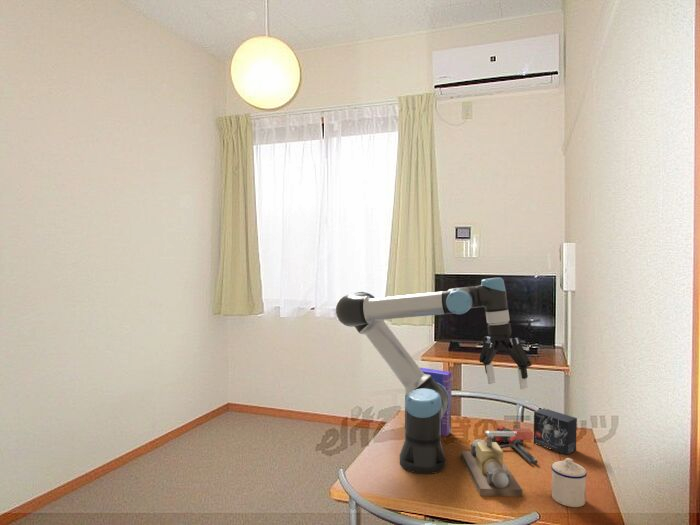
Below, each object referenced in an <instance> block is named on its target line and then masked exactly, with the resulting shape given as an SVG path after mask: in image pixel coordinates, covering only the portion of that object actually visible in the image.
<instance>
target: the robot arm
mask: <svg viewBox="0 0 700 525" xmlns="http://www.w3.org/2000/svg"><path fill="white" fill-rule="evenodd" d="M480 282H481V283H480V284H479V285H474V286H473V285H471V286H465V287H454V288H449V289H448V290H442V291H434V292H424V293H413V294H404V295H394V296H386V297H385V296H384V297H375V296H374V295H373V294H371V293H369V292H365V291H359V292H354V293H351V294H346V295H344V296H342V297H341V298H340V299H339V301H337V303H336V306H335V315H336V317H337V319H338V321H339V322H340V323H341V324H343V325H344V326H345V327H350V328H353V327H354V328H355V329H356V331H357V333H358V334H360V335H364V336H366V337H367V339H368V340H369V341H370V342H371V344H372V345H373V347H374V348H375V349H376V351H377V352H378V353H379V355H381V358H382V359H383V360H384V362H385V363H386V364H387V365H388V367H389V368H390V369H391V371H392V372H393V374H394V375H395V376H396V378H397V379H398V380H399V381H400V383H401V384H402V386H403V387H404V389H405V391H404V396H405V395H406V401H405V400H404V430H405V431H404V441H403V444H402V447H401V450H400V453H399V465H400V466H401V467H402V468H403V469H404V470H407V471H409V472H412V473H417V474H423V475H428V474H429V475H430V474H435V473H440V472H442V471H444V469H445V468H446V467H447V466H446V464H447V462H446V461H447V459H446V455H445V452H444V449H443V445H442V443H441V437H442V436H441V419H442V417H443V415H444V413H445V412H446V411H447V408H448V404H449V396H448V393H447V391H446V389H445V388H444V387H443V386H442V385H441V384H439V383H437V382H435V381H434V379H433V378H432V377H431V375H428V374H424V373H423V372H422V370H421V369H420V368H421V367H420V366H419V365H418V364H417V362H416V361H415V360H414V359H413V357H412V356H411V354H410V353H409V352H408V351H407V349H406V348H405V346H403V344H402V343H401V341H400V340H399V339H398V338H397V336H396V335H395V334H394V332H393V331H392V330H391V329H390V327H389V326H388V324H387V323H386V322H385V320H394V319H404V318H415V317H427V316H428V317H429V316H438V315H439V316H440V315H451V314H452V315H453V314H455V315H464V314H466V313H468V311H469V310H470V309H477V308H484V310H485V318H486V324H487V333H488V335H487V336H484V337H483V338H482V340H483V341H482V342H483V343H482V347H481V350H480V351H481V352H480V355H479V360H478V361H479V363H480V364H481V363H482V364H483V365H484V369H485V371H484V372H485V374H486V376H487V384H488V385H491V384H494V383H496V378H495V372H494V371H495V370H494V364H493V362H492V361H493V359H494V358H495V356H496V354H497V352H498V351H501V352H505V353H507V354H508V355H509V356H510V358H511V359H512V361H514V363H515V364H516V365H517V367H518V368H517V375H518V381H519V382H518V383H519V389H520V390H524V389H527V388H529V387H528V380H527V379H528V376H529V375H528V370H527V368H529V367H532V362H531V360H530V358H529V356H528V355H527V353H526V350H525V349H524V348H523V346H522V344H521V339H520V337H514V338H512V335H511V334H512V327H511V326H512V325H511V322H510V313H509V305H508V298H507V290H506V285H505V280H504V279H503V277H500V276H499V277H490V278H485V279H484V278H483V279H481V281H480Z"/></svg>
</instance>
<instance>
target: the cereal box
mask: <svg viewBox="0 0 700 525" xmlns="http://www.w3.org/2000/svg"><path fill="white" fill-rule="evenodd" d="M419 368H420V369H421V370H422V372H423V373H424V374H428V375H431V377H432V378H433V379H434V381H435V382H437V383H439V384H441V385H442V386H443V387H444V388H445V389H446V391H447V393H448V396H449V404H448V408H447V411H446V412H445V413H444V415H443V417H442V419H441V437H446V438H447V437H448V436H449V435H450V434H452V387H453V386H452V385H453V384H452V382H453V381H452V378H453V376H452V375H453V372H452V371H446V370H440V369H432V368H425V367H424V368H423V367H419ZM404 396H405V398H404V402H405V401H406V395H405V394H404Z"/></svg>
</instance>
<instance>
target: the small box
mask: <svg viewBox="0 0 700 525" xmlns="http://www.w3.org/2000/svg"><path fill="white" fill-rule="evenodd" d="M533 415H534V416H533V444H535V443H537V444H536V445H538V444H540V445H539V446H541V445H542V446H541V447H543V446H546V447H548V448H547V449H549V448H551V449H553V450H552V451H554V450H555V451H554V452H557V451H558V452H557V453H559V452H560V454H562V455H565V456H568V455H570V454H572V453H574V452H576V451H577V430H578V429H577V426H578V425H577V422H578V418H577V417H575V416H572V415H568V414H565V413H561V412H558V411H555V410H551V409H548V408H545V407H544V408H541V409H538V410H536V411H534V412H533ZM546 447H545V448H546ZM551 449H550V450H551Z"/></svg>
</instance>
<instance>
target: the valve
mask: <svg viewBox="0 0 700 525" xmlns="http://www.w3.org/2000/svg"><path fill="white" fill-rule="evenodd" d="M514 428H521V427H520V425H518V424H516V425H514V426H513V429H511V428H510V429H509V428H507V427H505V426H503V425H500V426H497V427H496V429H495V431H514ZM504 441H505V443H507V442H508V444H502V442H504ZM524 441H525V440H517V439H516V438H515V437H514V436H494V438H492V442H496V443H497V444H498V445H499V443H501V444H500V445H499V447H500V448H501V450H502V449H507V448H512V449H514V448H515V449H514V450H515V451H517V452H518V453H519V455H521V456H522V457H523V458H524V459H525V460H526V461H527V462H528V463H529V464H531V465H532V464H535V465H536V464H538V460H537V459H536V457H534V456H533V455H532V454H531V453H530V452H529V451H528V450H526V449H525V447H523V443H524ZM484 442H487V439H486V440H485V441H484Z"/></svg>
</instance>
